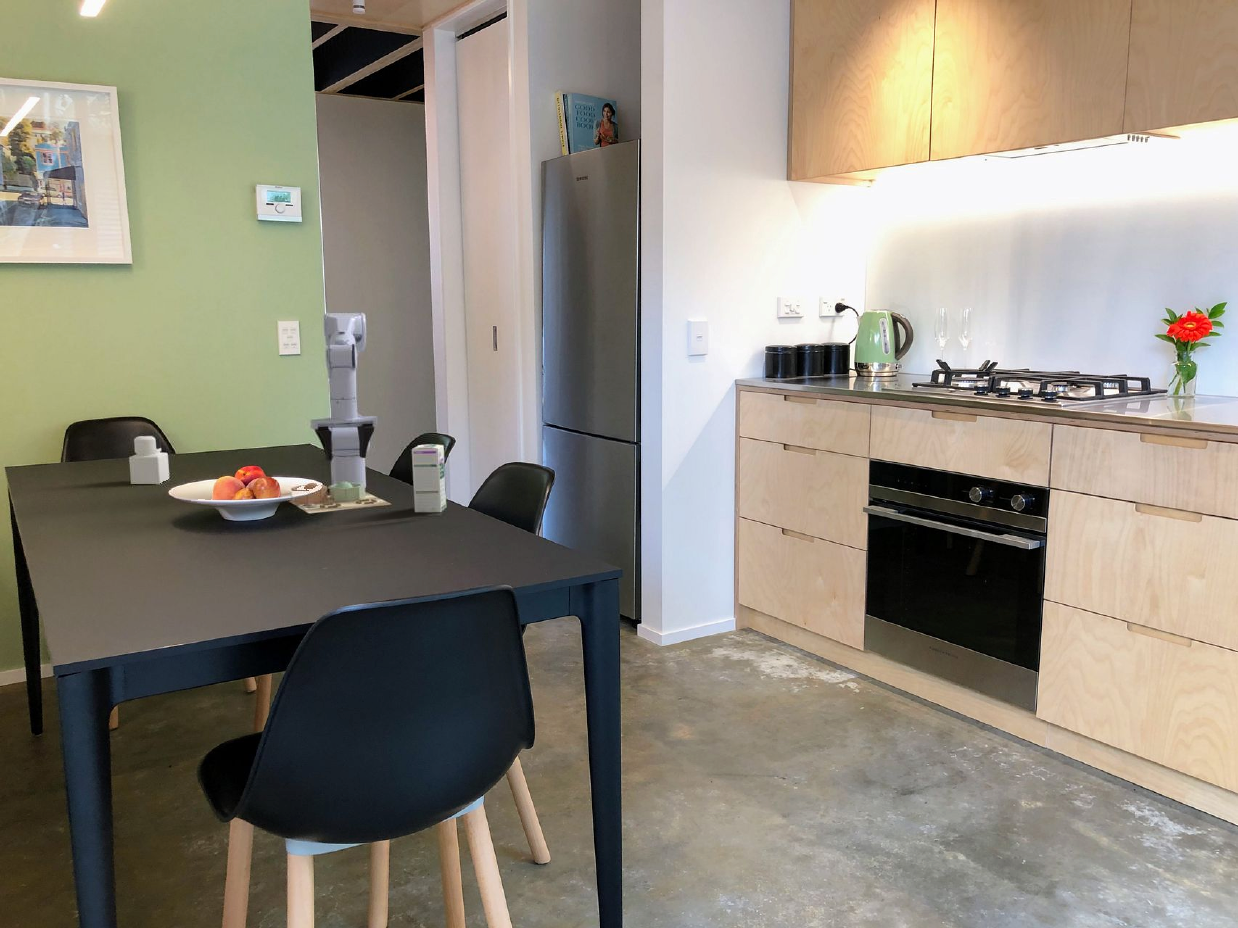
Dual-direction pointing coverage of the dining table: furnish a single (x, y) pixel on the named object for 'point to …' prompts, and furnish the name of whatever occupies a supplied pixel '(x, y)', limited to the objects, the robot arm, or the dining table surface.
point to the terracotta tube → (311, 496)
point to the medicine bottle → (148, 461)
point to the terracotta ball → (310, 486)
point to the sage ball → (343, 485)
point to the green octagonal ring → (348, 493)
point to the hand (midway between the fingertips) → (346, 458)
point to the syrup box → (429, 478)
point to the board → (342, 504)
